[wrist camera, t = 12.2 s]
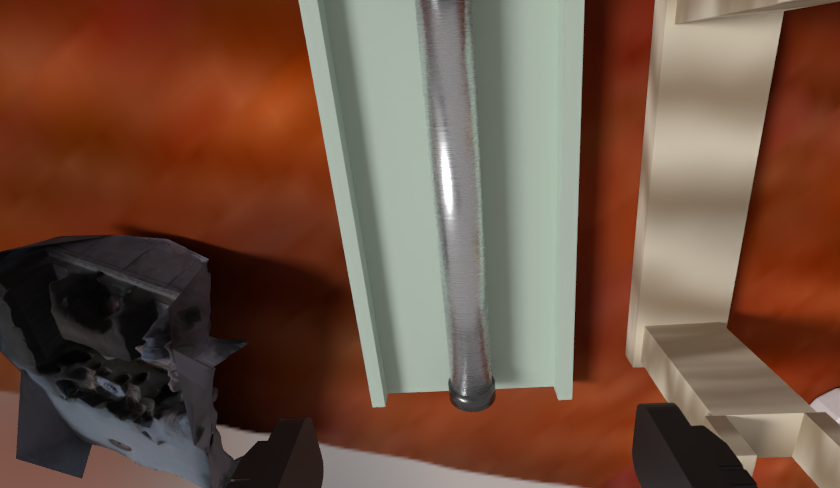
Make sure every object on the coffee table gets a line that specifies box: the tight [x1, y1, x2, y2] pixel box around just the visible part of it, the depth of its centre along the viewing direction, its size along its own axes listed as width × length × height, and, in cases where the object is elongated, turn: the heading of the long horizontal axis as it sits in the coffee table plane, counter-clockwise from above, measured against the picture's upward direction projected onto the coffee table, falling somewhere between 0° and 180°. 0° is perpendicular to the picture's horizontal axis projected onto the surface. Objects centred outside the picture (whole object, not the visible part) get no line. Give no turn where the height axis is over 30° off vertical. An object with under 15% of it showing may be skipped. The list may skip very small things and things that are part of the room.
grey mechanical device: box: [0, 235, 250, 488], centre depth 31 cm, size 18×20×9 cm
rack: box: [625, 0, 840, 488], centre depth 22 cm, size 26×6×12 cm, turn 6°
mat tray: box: [299, 0, 585, 407], centre depth 28 cm, size 30×15×2 cm, turn 6°
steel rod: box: [414, 0, 496, 412], centre depth 27 cm, size 28×3×3 cm, turn 6°
